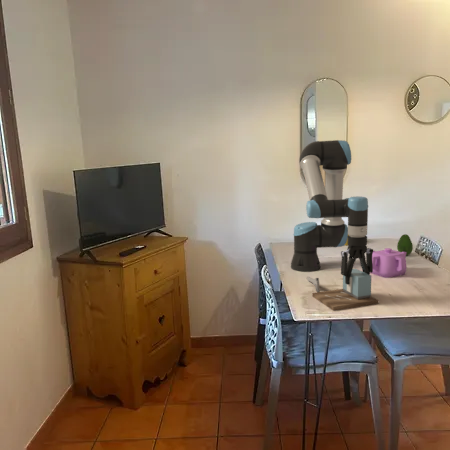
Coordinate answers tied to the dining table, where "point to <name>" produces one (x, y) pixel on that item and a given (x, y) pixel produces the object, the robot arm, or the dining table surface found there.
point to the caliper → (314, 282)
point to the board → (342, 299)
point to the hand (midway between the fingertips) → (356, 290)
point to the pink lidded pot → (389, 263)
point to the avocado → (405, 244)
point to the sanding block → (359, 284)
